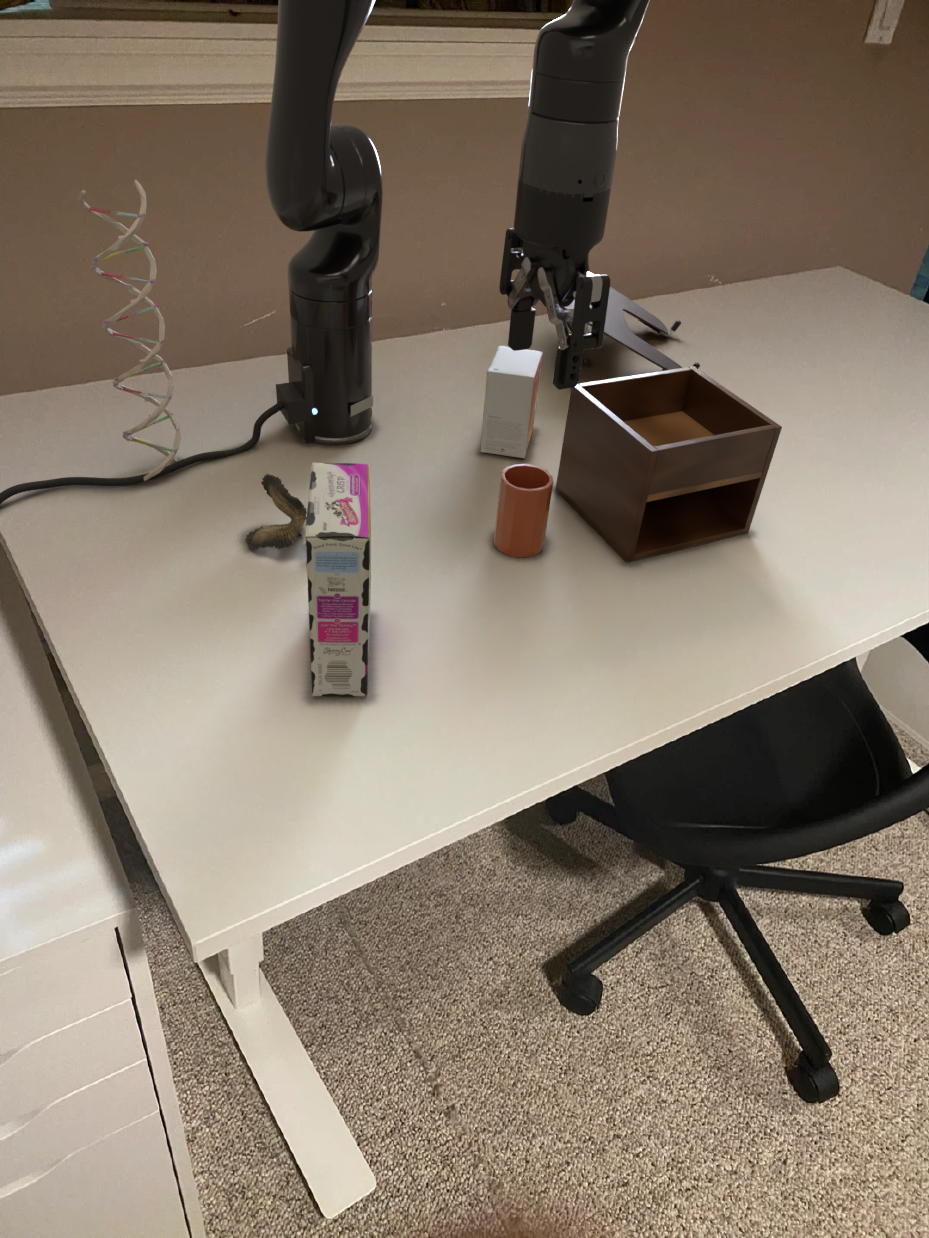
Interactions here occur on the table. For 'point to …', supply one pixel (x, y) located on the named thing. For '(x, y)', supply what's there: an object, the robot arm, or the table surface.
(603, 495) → the box
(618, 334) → the laptop tray
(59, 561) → the table surface
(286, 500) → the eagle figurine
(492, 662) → the table surface
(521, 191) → the robot arm
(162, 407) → the dna model
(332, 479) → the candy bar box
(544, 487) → the cup
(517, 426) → the small box
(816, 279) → the table surface
